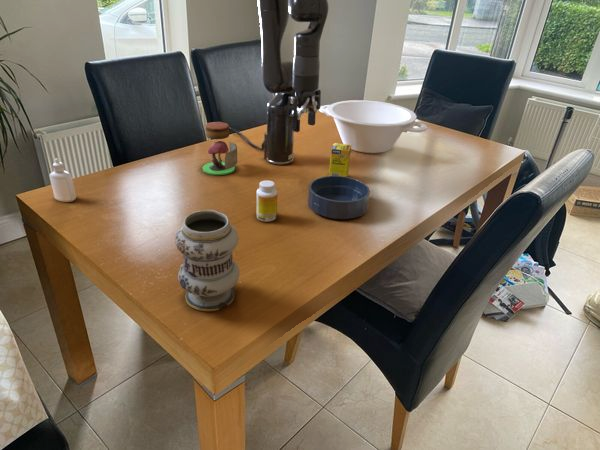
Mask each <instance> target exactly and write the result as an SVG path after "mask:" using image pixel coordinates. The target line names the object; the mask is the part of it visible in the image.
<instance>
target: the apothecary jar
mask: <svg viewBox="0 0 600 450" xmlns="http://www.w3.org/2000/svg"><path fill="white" fill-rule="evenodd" d="M182 222H183V223H182V226H181V227H180V228H179V229H178V231H177V232H176V234H175V238H174V243H175V246H176V249H177V250H178V251H179V252H180V253H181V254H182V259H183V263H182V264H180V267H179V268H178V272H177V280H178V283H179V285H180V286H181V288H182V289H183V290H184V291H185V292H186V293H185V297H184V298H185V299H184V300H185V303H186V304H187V305H188V306H189V307H190V308H192V309H193V310H197V311H200V312H216V311H219V310H220V309H222V308H224V307H228V306H229V305H230V304H231V303H232V302H233V301H234V298H235V291H234V289H233V287H235V285H237V283H238V281H239V279H240V274H241V273H240V268H239V265H238V263H237V262H236V261H235V260H234V258H233V257H234V256H233V252H234V250H235V249H236V247H237V246H238V243H239V233H238V231H237V229H236V228H235V227H234V226H233V224H231V223H230V222H231V221H230V219H229V217H228V216H227V214H225V213H223V212H220V211H217V210H214V209H205V210H198V211H194V212H191V213H189V214H187V216H186V217H184V219H183V221H182Z"/></svg>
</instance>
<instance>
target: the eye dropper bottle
mask: <svg viewBox="0 0 600 450" xmlns="http://www.w3.org/2000/svg"><path fill="white" fill-rule="evenodd" d="M52 168H53V171H52V172H50V173H49V180H50V185H51V188H52V192H53V197H54V199H55V200H56V201H59V202H64V203H70V202H71V203H72V202H74V201H75V200H76V199H77V195H76V190H75V185H74V181H73V176H72V175H71V173H69V171H66V170H65V167H64V164H63V162H61V161H60V160H59V158H55V159H54V162H53V163H52Z"/></svg>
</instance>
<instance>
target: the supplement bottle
mask: <svg viewBox="0 0 600 450" xmlns="http://www.w3.org/2000/svg"><path fill="white" fill-rule="evenodd" d="M255 193H256V195H255V196H256V199H255V201H256V202H255V203H256V204H255V205H256V206H255V208H256V209H255V210H256V211H255V213H256V214H255V215H256V219H258V221H260V222H264V223H265V222H266V223H269V222H273V221H274V220H276V219H277V217H278V190H277V189H276V187H275V182H274V181H272V180H261V181H260V182H259V186H258V188H257V189H256V192H255Z"/></svg>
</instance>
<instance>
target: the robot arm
mask: <svg viewBox="0 0 600 450" xmlns="http://www.w3.org/2000/svg"><path fill="white" fill-rule="evenodd" d="M257 7H258V16H259V23H260V25H259V27H260V38H261V77H262V83H263V86H264V87H265V90H266V91H267V92H269V93H270V94H274V96H273V98H272V99H270V100H269V101H268V103H267V105H266V132H264V133H263V134H264V135H263V137H264V139H263V141H262V143H261V147H259V146H258V145H255V144H253V142H251V141H249V139H248V138H247V137H246V136H245V135H244V134H243V133H242V132H240V131H238V130H236V129H235V128H233V127H229V131H233V132H234V133H235V134H237V135H239V136H240V137H241V138H242V139H243V140H244V141H245V142H246V143H247V144H248V145H249V146H251V147H253V149H257V150H260V151H263V160H266V162H268V163H269V164H272V165H276V166H277V165H278V166H284V165H288V164H292V163H293V161H294V157H295V153H294V140H295V139H294V136H295V135H294V134H295V133H299V132H300V131H301V117H302V114H304V113H305V111H306V109H307V111H308V112H307V125H309V126H315V125H316V116H317V115H316V114H317V113H318V111H319V109H320V106H321V95H322V89H319V85H320V84H319V83H320V65H321V64H320V50H321V38H322V35H323V31H324V29H325V26H326V22H327V19H328V14H329V8H330V7H329V1H328V0H257ZM290 18H291V19H292V20H294V21H295V22H297V23H309V24H308V27H307V28H306V29H304V30H302V31H301V30H300V31H298V32H296V33H295V35H294V42H293V43H294V44H293V45H294V46H293V61H291V60H283V61H282V52H281V51H282V41H283V38H284V35H285V32H286V29H287V26H288V24H289V19H290Z"/></svg>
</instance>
